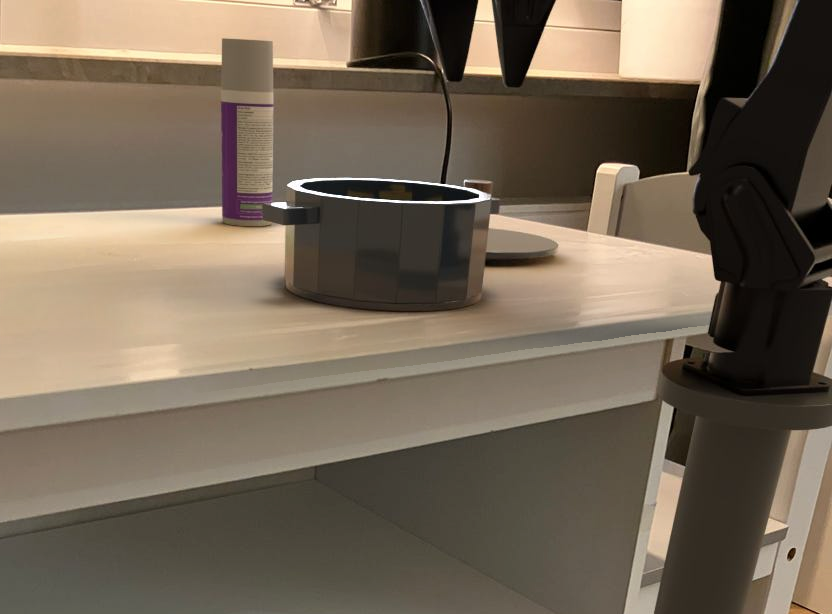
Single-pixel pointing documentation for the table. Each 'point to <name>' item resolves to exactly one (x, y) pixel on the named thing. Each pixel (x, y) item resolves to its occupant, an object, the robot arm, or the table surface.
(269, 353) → the table surface
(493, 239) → the lid
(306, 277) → the pot
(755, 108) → the robot arm
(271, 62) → the container
